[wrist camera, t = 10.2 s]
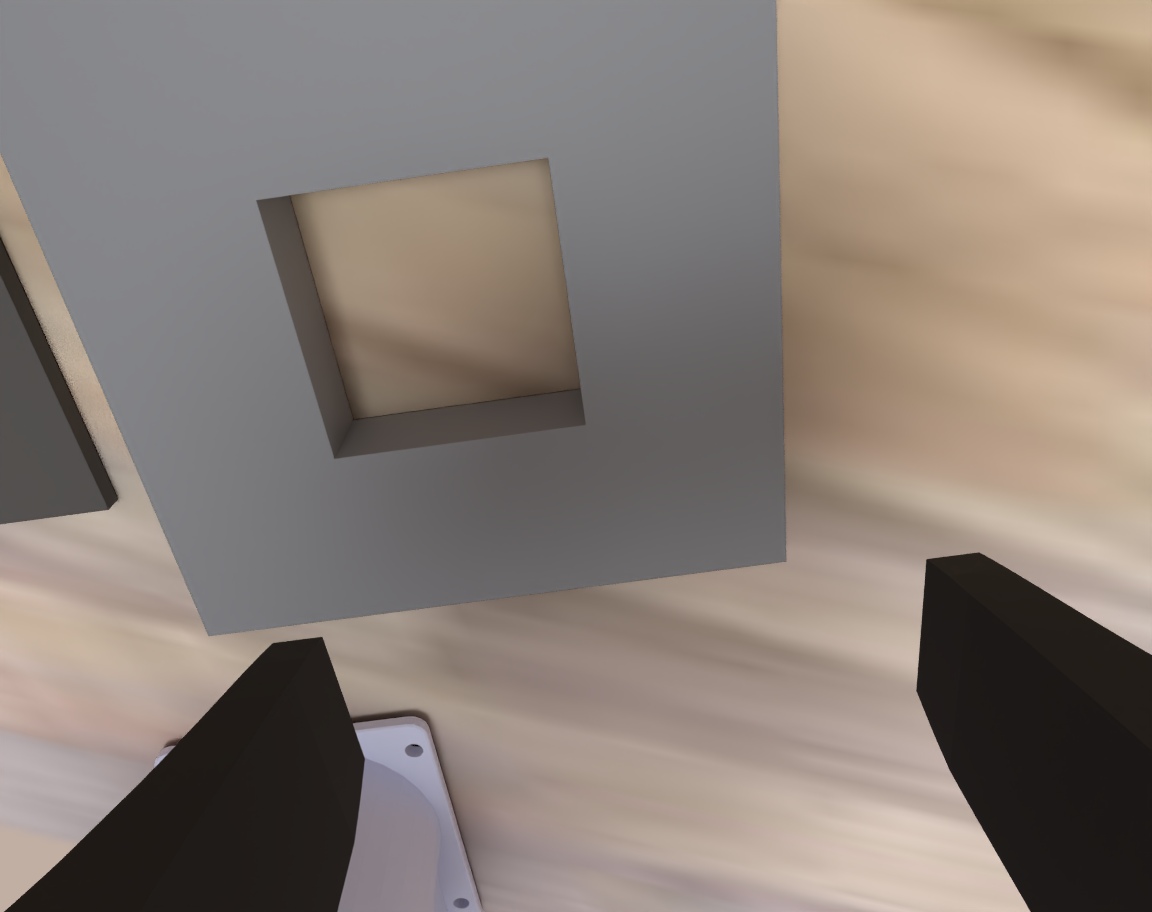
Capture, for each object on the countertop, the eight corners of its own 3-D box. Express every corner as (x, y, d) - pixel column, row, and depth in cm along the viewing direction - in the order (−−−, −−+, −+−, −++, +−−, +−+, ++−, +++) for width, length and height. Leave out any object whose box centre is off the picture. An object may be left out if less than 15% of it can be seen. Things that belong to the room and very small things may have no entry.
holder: (766, 517, 21) (786, 561, 20) (236, 586, 22) (208, 636, 20) (746, -138, 15) (773, -159, 13) (-6, -21, 15) (-78, -27, 14)
